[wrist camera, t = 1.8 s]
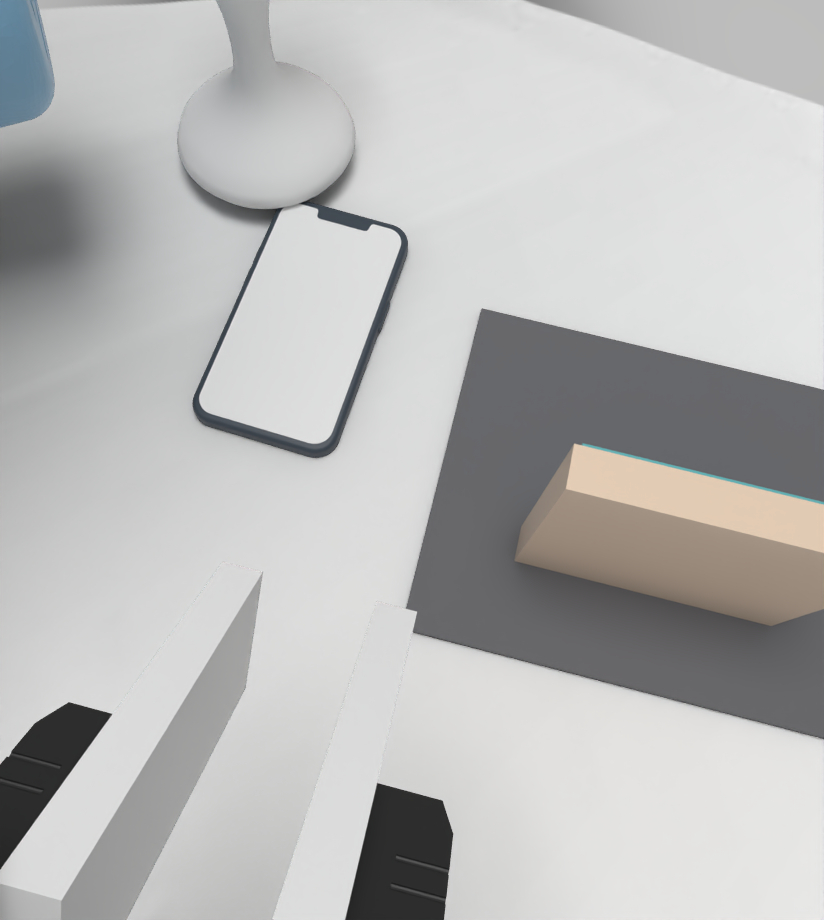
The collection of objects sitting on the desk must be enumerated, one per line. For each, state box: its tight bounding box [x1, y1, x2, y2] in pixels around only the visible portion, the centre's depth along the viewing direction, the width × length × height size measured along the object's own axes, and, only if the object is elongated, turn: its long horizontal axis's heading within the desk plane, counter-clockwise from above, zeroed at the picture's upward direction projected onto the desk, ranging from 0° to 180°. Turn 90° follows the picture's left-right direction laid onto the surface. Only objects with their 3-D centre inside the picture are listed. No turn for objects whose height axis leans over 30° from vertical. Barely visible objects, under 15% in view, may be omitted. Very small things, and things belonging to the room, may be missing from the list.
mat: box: [406, 309, 824, 739], centre depth 43 cm, size 24×20×1 cm
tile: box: [514, 443, 824, 626], centre depth 36 cm, size 14×2×12 cm, turn 76°
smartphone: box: [193, 201, 408, 458], centre depth 46 cm, size 9×2×16 cm
